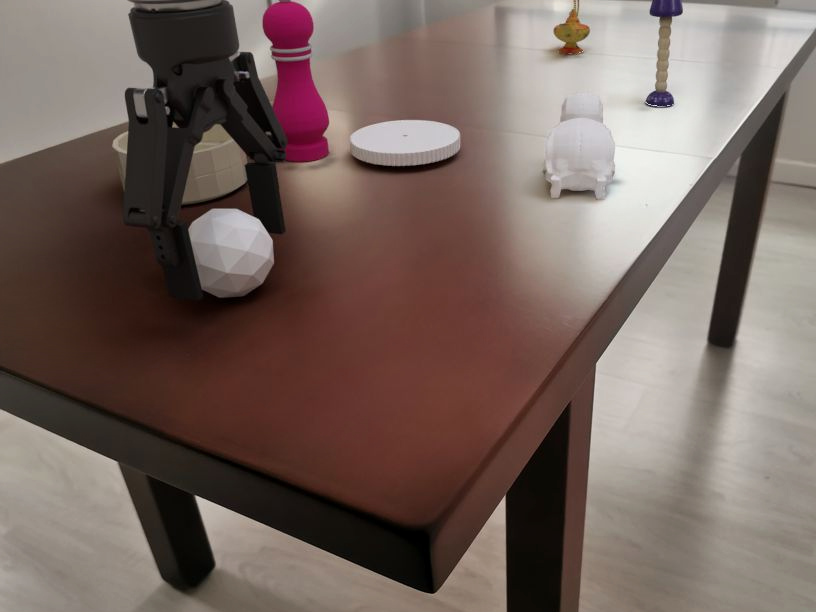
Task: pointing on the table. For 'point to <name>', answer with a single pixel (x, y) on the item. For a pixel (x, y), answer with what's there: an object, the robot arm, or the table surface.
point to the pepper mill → (296, 81)
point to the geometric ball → (230, 252)
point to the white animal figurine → (580, 148)
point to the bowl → (202, 165)
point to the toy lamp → (663, 49)
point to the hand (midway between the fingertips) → (232, 262)
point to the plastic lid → (405, 142)
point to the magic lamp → (571, 32)
